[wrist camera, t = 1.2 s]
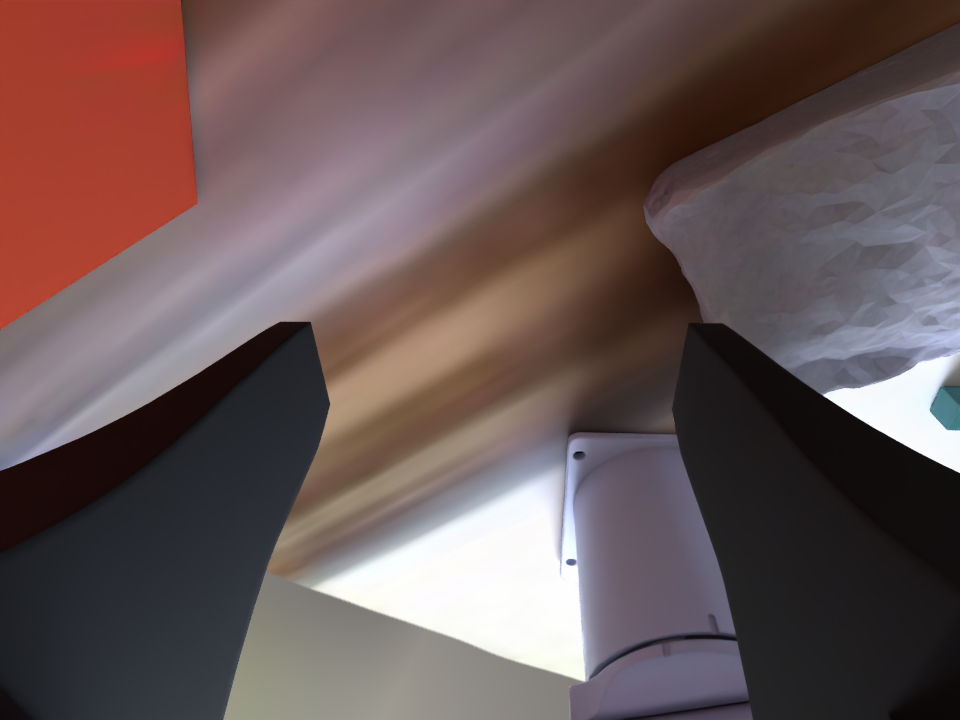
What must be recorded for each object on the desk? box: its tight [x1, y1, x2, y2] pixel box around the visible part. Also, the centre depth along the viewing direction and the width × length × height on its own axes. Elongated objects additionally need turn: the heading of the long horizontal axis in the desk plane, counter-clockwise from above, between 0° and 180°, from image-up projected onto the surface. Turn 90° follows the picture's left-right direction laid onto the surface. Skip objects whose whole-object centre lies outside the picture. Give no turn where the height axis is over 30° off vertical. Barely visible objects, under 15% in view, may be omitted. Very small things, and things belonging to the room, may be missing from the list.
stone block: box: [643, 22, 960, 395], centre depth 18 cm, size 12×5×10 cm
